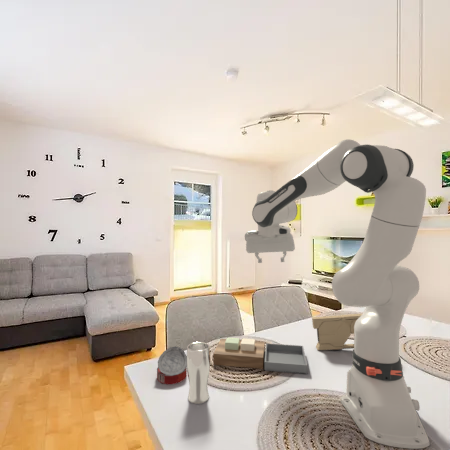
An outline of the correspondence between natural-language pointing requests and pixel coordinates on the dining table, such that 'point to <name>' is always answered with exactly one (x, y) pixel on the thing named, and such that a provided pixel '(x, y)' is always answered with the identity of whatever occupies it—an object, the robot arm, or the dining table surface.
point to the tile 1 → (232, 343)
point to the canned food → (172, 366)
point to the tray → (285, 358)
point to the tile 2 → (248, 344)
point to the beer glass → (198, 371)
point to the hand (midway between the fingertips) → (271, 262)
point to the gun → (334, 331)
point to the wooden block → (239, 356)
